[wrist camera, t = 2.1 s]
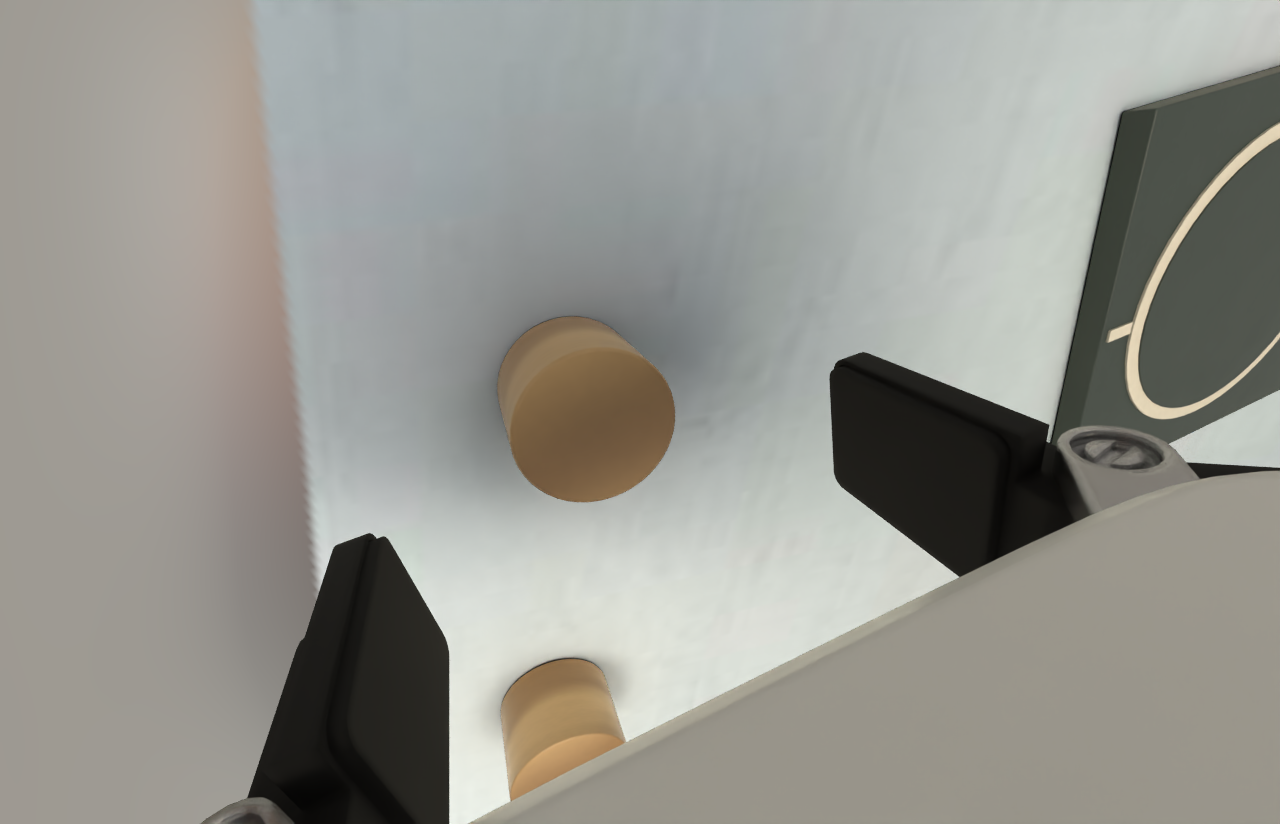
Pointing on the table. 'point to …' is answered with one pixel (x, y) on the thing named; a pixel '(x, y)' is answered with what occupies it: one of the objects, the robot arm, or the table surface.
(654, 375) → the tan cork puck
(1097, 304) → the slate board
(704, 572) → the table surface
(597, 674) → the tan cork stopper
